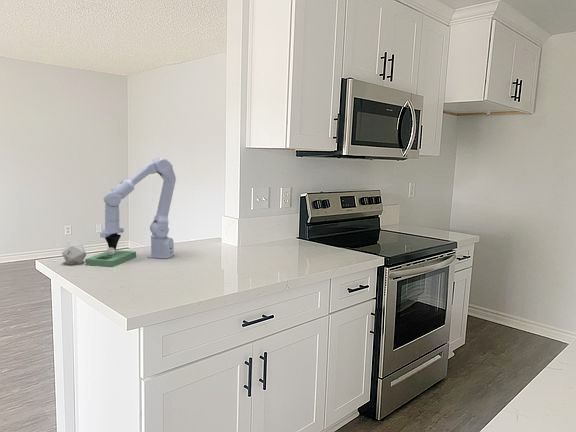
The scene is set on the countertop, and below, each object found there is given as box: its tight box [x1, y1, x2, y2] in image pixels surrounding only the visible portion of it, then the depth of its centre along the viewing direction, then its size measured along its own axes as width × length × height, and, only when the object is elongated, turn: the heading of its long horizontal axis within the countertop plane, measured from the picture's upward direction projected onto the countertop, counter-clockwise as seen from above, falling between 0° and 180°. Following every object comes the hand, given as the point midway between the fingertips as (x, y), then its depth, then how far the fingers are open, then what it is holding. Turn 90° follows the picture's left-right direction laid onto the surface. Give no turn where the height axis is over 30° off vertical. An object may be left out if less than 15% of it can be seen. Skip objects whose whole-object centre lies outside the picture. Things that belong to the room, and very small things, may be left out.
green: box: [84, 250, 137, 268], centre depth 195 cm, size 12×19×2 cm, turn 169°
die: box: [61, 243, 87, 265], centre depth 189 cm, size 8×9×10 cm
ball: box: [106, 247, 115, 255], centre depth 194 cm, size 4×4×4 cm
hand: (112, 251), depth 196 cm, fingers closed, pressing on ball
